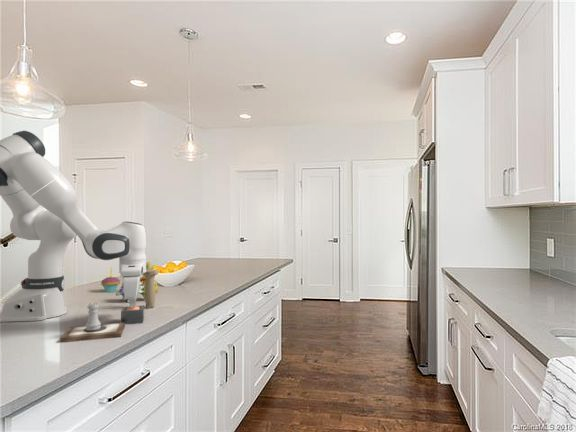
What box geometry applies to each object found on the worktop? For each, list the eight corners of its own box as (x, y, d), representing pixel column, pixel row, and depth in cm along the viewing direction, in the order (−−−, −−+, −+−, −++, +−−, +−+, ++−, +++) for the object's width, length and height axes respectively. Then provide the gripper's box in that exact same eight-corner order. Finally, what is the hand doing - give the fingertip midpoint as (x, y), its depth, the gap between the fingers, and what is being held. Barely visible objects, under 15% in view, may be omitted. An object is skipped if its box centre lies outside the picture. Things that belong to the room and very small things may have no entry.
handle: (155, 309, 150) (155, 271, 150) (139, 308, 151) (139, 271, 151) (160, 306, 155) (160, 269, 155) (145, 305, 155) (145, 269, 156)
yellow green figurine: (138, 291, 188) (138, 261, 188) (160, 291, 187) (160, 261, 187) (132, 293, 181) (132, 262, 181) (154, 294, 180) (154, 262, 181)
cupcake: (102, 290, 190) (103, 266, 190) (121, 289, 193) (121, 265, 193) (99, 293, 182) (99, 268, 182) (118, 292, 185) (118, 268, 185)
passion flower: (129, 314, 163) (110, 294, 159) (133, 304, 173) (116, 284, 170) (151, 299, 163) (133, 278, 160) (154, 290, 174) (138, 270, 171)
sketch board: (61, 342, 110) (61, 337, 110) (70, 330, 121) (70, 326, 121) (120, 336, 114) (120, 331, 114) (124, 326, 126) (124, 321, 126)
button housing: (120, 324, 128) (120, 311, 128) (123, 319, 134) (123, 306, 134) (142, 322, 130) (142, 309, 130) (143, 317, 137) (143, 305, 137)
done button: (125, 318, 129) (125, 309, 129) (126, 315, 134) (126, 306, 134) (139, 317, 131) (139, 308, 131) (139, 314, 135) (139, 305, 135)
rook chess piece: (103, 327, 120) (103, 302, 120) (97, 331, 115) (97, 305, 115) (89, 327, 120) (89, 302, 120) (82, 331, 115) (82, 305, 115)
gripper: (126, 264, 141) (126, 301, 141) (120, 271, 122) (119, 314, 122) (144, 264, 143) (143, 300, 143) (140, 271, 124) (140, 312, 124)
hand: (132, 306), depth 132 cm, fingers closed
